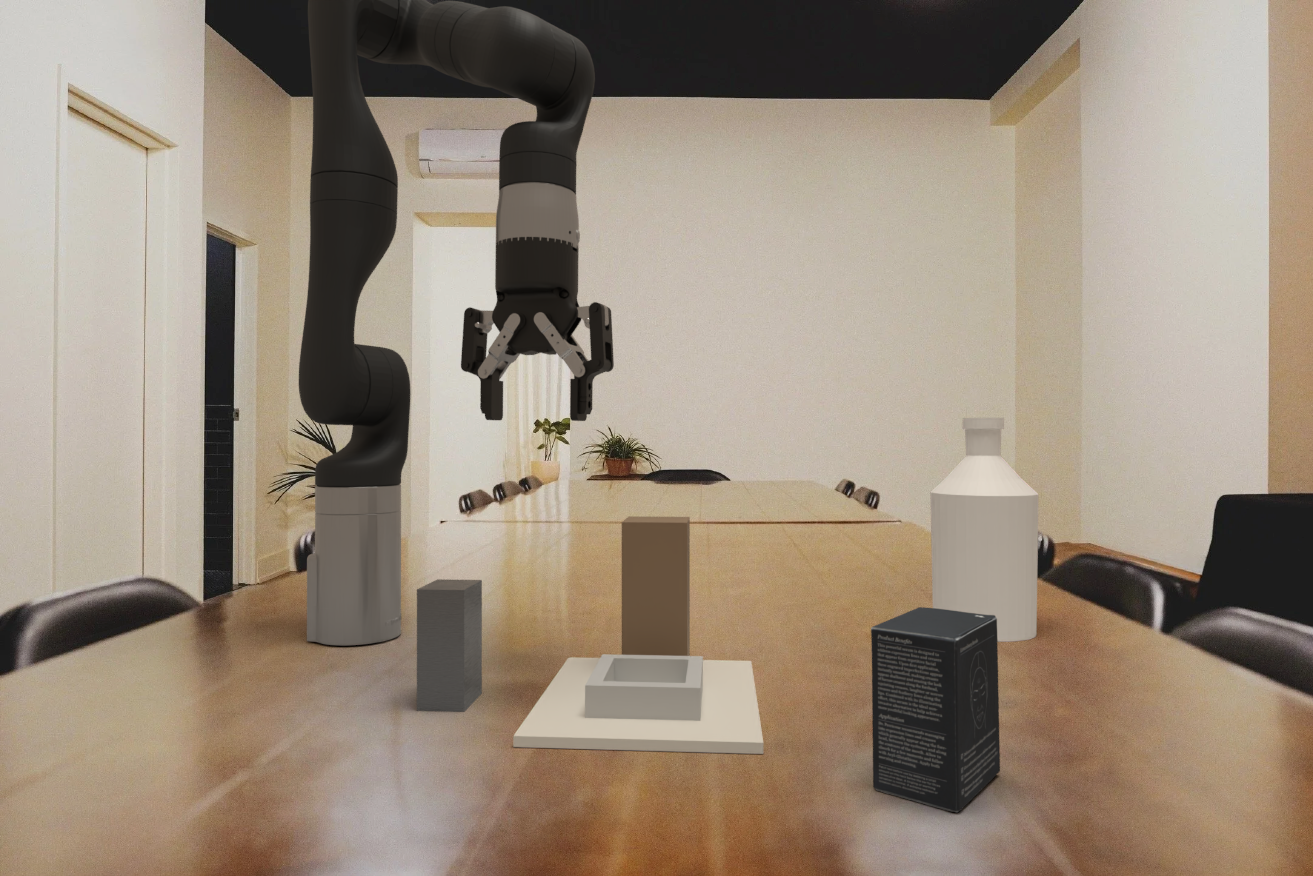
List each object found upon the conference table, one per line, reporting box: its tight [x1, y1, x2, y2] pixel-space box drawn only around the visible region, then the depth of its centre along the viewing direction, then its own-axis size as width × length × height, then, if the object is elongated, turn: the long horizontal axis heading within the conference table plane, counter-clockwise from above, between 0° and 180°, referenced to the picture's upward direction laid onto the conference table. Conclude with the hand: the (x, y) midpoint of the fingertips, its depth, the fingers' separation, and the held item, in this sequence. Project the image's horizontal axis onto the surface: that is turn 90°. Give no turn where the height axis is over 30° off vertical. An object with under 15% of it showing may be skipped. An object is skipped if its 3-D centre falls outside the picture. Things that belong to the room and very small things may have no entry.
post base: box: [512, 515, 764, 755], centre depth 70 cm, size 18×22×15 cm
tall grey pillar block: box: [416, 578, 483, 713], centre depth 70 cm, size 4×5×10 cm
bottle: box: [929, 417, 1040, 643], centre depth 97 cm, size 12×12×25 cm
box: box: [870, 606, 1001, 813], centre depth 53 cm, size 8×6×11 cm
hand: (535, 420), depth 75 cm, fingers open, 8 cm apart
